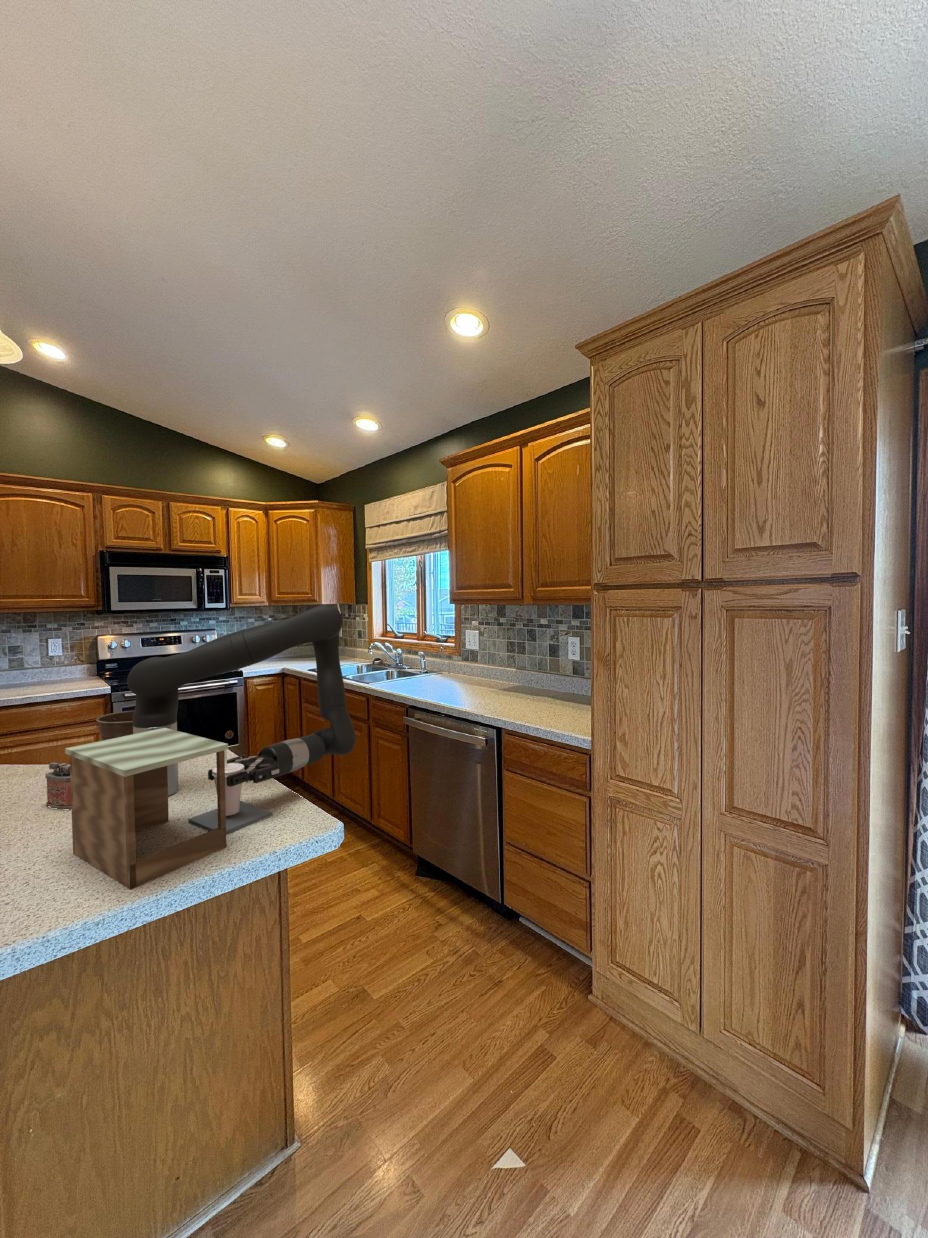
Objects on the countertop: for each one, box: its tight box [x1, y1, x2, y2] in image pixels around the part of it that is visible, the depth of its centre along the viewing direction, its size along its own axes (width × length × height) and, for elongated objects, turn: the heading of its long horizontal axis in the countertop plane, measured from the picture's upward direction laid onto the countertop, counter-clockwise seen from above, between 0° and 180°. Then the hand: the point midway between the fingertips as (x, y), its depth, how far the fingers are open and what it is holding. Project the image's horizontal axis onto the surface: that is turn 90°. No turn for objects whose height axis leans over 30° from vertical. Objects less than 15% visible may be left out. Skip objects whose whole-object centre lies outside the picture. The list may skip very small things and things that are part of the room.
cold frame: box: [64, 728, 229, 890], centre depth 97 cm, size 23×18×20 cm
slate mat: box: [187, 800, 273, 836], centre depth 112 cm, size 12×12×1 cm
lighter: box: [45, 762, 71, 809], centre depth 118 cm, size 8×3×10 cm, turn 71°
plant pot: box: [95, 710, 134, 741], centre depth 141 cm, size 16×16×16 cm
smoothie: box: [212, 749, 245, 816], centre depth 111 cm, size 6×6×14 cm
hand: (218, 778), depth 109 cm, fingers closed on smoothie, 6 cm apart
